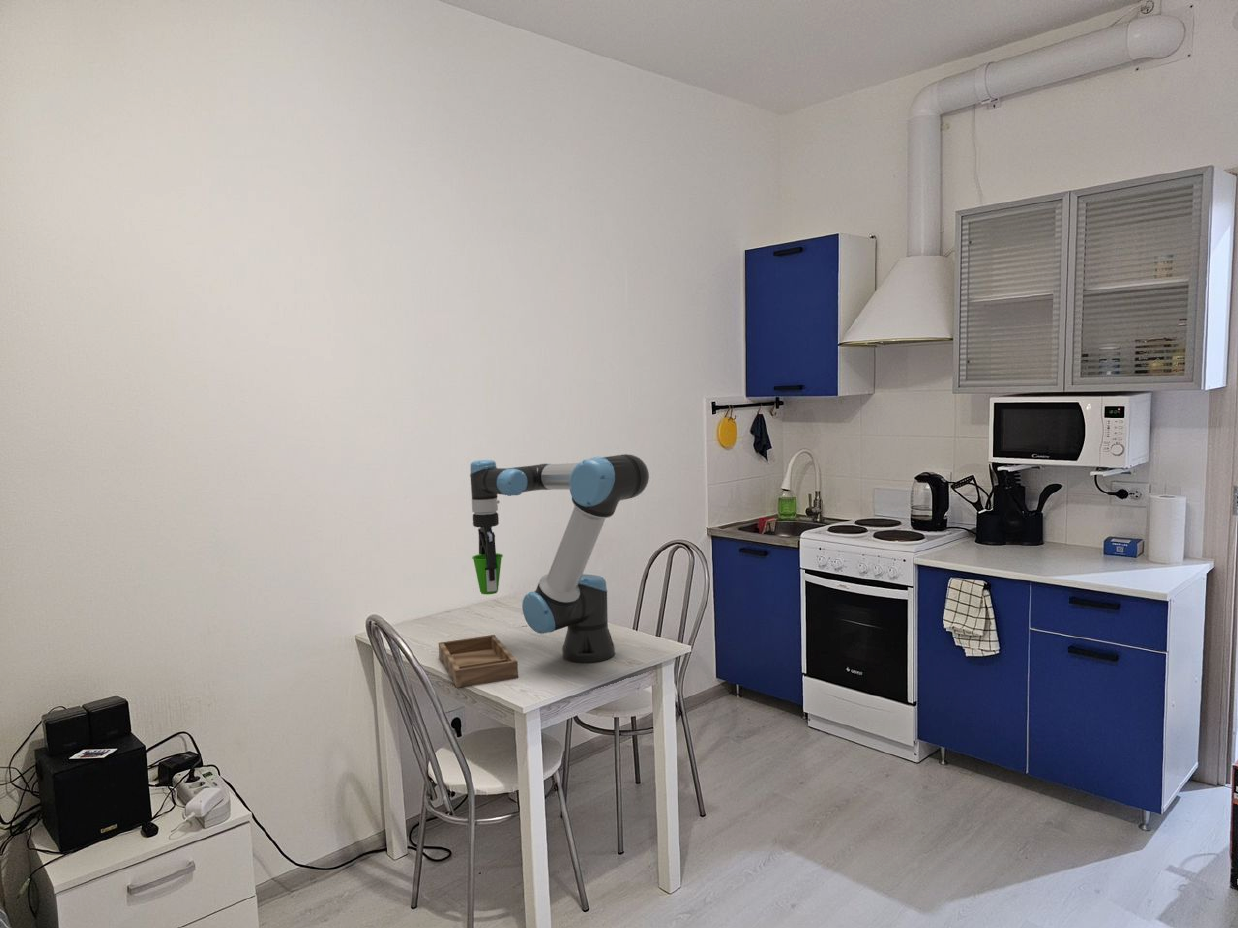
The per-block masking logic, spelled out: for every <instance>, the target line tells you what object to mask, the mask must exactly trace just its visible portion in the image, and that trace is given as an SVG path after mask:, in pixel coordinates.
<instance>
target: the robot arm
mask: <svg viewBox="0 0 1238 928" xmlns="http://www.w3.org/2000/svg"><path fill="white" fill-rule="evenodd" d="M469 474H470V475H469V477H470V491H471V492H470V493H471V512H472V513H473V514H472V526H473V527H475V528H478V529H477V532H478V554H481V555H483V554H485V556H486V564H487V568H485V570H486V576H487V592H491V591H497V582H496V568H497V559H496V553H497V551H496V550H497V549H496V535H495V532H493V529H492V528H493V527H497V526H498V525H499V523H500V522H499V513H498V510H499V505H498V504H500V500H499V499H498V495H505V496H507V497H508V496H509V497H511V496H520V495H521V494H522V493H523V494H524V493H527V492H533V491H535V492H536V491H549V490H550V491H551V490H553V491H554V490H557V491H558V490H560V491H561V490H569V494H570V495H571V501H572V504H573V505H574V507H573V510H572V512H571V515H570V518H569V520H568V522H567V526H566V527H565V530H564V532H563V535H562V538H561V541H560V543H559V546H558V548H557V551H556V554H555V556H554V559H553V560H552V564H551V566H550V569H549V571H548V574H544V575H543V576H541V578H540V579H539V582H538V583H537V585H536V586H537V587H536V589H535V590H534V591H529V592H528V593H527V594H526V595H525V596H524V597H523V600H522V606H521V607H522V614H523V617H524V620H525V621H526V624H527V625H528V627H530V628H531V630H532V631H534V632H535V633H537V634H541V635H543V634H548V633H554V632H555V631H558V630H561V629H564V628H566V629H567V630H566V633H565V637H564V642H563V644H562V646H561V651H562V652H561V653H562V657H563V659H565V660H567V661H570V662H574V663H597V662H603V661H606V660H608V659H610V658H612V657H614V655H615V653H616V652H615V651H616V650H615V643H614V641H613V638H612V634H611V632H610V629H609V626H608V618H609V617H608V589H607V581H606V579H605V578H604V577H602V576H601V575H595V574H587V573H586V574H584V572H585V570H586V566H587V564H588V562H589V560H590V557H591V555H592V552H593V550H594V547H595V545H596V543H597V540H598V537H599V535H600V532H601V530H602V527H603V525H604V523H605V520H606V519H608V518H609V519H610V518H611V517H612V516H614V515H615V512H616V509H617V508H618V505H619V503H620V502H621V501H624V500H628V499H629V500H630V499H633V498H635V497H638V496H639V495H641V494H642V493H643V492H644V491H645V489H646V488H647V486H648V483H649V478H650V473H649V469H648V466H647V465H646V462H644V461H643V459H641V458H640V457H638V456H636V455H634V454H626V453H625V454H624V453H623V454H617V455H610V456H603V457H602V456H595V457H590V458H587V459H584V460H582V461H580V462H572V463H568V462H567V463H539V464H533V465H525V466H516V467H507V468H504V467H503V468H500V467H499V468H498V467H497V463H496V461H495V460H492V459H482V460H473V461H472V462H471V463H470V473H469ZM490 564H492V565H490ZM497 592H498V591H497Z"/></svg>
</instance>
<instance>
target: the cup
mask: <svg viewBox="0 0 1238 928" xmlns="http://www.w3.org/2000/svg"><path fill="white" fill-rule="evenodd" d="M503 557H504V555H503V554H502V553H497V552H496V559H497V568H496V582H497V591H491V592H487V576H486V570H485V568H487V564H486V556H485V554H483V555H481V554H479V553H478V554H474V555H472V557H471V559H473V563H474V568H475V574H476V577H477V579H476V580H477V583H478V588H479V592H480V593H481V595H494V594H497V593H498V592H499V586H500V577H501V576H500V574H501V566H502V558H503ZM490 565H492V564H490Z"/></svg>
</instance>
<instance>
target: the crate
mask: <svg viewBox="0 0 1238 928" xmlns="http://www.w3.org/2000/svg"><path fill="white" fill-rule="evenodd" d="M438 655H439V656H438V658H439V660H440V662H441V663H442V665H443V666H444V668H445V670H446V672H447V673H448V675H449V676H450V678H451V680H452V682H453V684H454V686H455V687H456V689H458V688H463V687H464V688H465V687H469V686H477V685H481V684H482V683H483V684H487V683H489V684H490V683H494V682H501V681H507V680H513V679H518V678H519V666H518V665H519V663H518V660H517V659H516V658H515V657H514V655H512V653H511V652H510V651H509V650H508V649H507V648H506V646H505V645H504V644H503V643H502V642H501V640H500V639H498V637H497V636H496V635H495V634H490V635H484V636H477V637H470V638H469V637H468V638H462V639H454V640H448V641H442V642H438ZM476 684H477V685H476Z"/></svg>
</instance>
